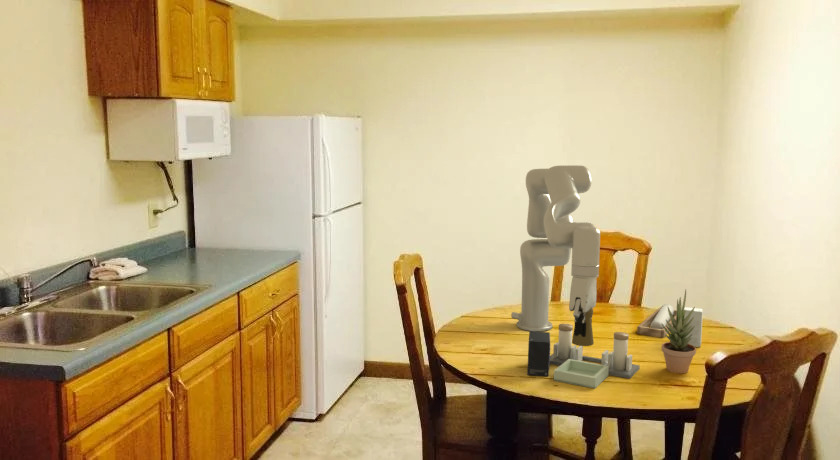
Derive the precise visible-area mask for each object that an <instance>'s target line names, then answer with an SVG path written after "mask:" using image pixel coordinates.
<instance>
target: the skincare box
mask: <svg viewBox="0 0 840 460" xmlns="http://www.w3.org/2000/svg"><path fill="white" fill-rule="evenodd" d="M693 308H694V307H687V306H685V309H684V311H685V310H686V313H685V318H686V317H687V316H688V314H689V313H690V312H691V310H692V309H693ZM703 313H704V309H703V308H696V307H695V308H694V311H693V313H692V314H691V316H690V318H689V320H688V321H687V323H688V322H689V321H690V320H691V319H692V318H693V317H694V318H693V320H692V322H691V324H690V325H689V327H690V326H691V325H692V326H691V328H692V327H693V326H695V327H694V329H693V330H692V331H691V332H690V333H689V334H688V335H687V337H686V338H688V337H689V336H690V335H692V334H693V335H692V336H691V337H690V338H691V340H690V341H689V343H688V344H691V345H693V346H694V347H697V348H700V347H701V346H702V335H703V334H702V333H703V332H702V331H703ZM687 323H686V324H687ZM686 324H685V325H686ZM689 327H688V328H689ZM688 328H687V329H688ZM691 328H690V329H691ZM690 329H689V330H690ZM688 332H689V331H688ZM686 338H685V339H686ZM690 338H689V339H690ZM689 339H688V340H689Z"/></svg>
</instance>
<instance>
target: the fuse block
mask: <svg viewBox="0 0 840 460" xmlns="http://www.w3.org/2000/svg"><path fill="white" fill-rule="evenodd" d="M573 331H574V327H573V324H570V323H559V324H558V342H555V343H554V344H553V350H552V351H553V353H552V354H550V364H549V365H554V366H558V367H559V366H560V365H562V364H563V363H564V362H565V361H567V360H568V359H573V360H578V361H586V362H591V363H597V364H601V365H606V366H609V371H608V376H613V377H619V378H624V379H628V380H629V379H630V380H631V379H632V377H633V376H634V375H635V374H636V373H638V371H639V370H640V367H641V366H640V365H639V364H635V363H634V364H633V354H628V351H629V349H628V348H629V337H630V336H629V333H627V332H625V331H624V332H622V331H618V332H617V331H616V332H614V333H613V351H609V350H607V349H605V350H604V351H603V352H602V353H601V358H599V357H593V356H588V355H583V353H584V350H583V348H584V346H578V347H577V345H575V344H573V343H572V339H573Z"/></svg>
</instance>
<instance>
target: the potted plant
mask: <svg viewBox="0 0 840 460" xmlns="http://www.w3.org/2000/svg"><path fill="white" fill-rule="evenodd" d="M686 299H687V289H684V297H683V302H682V297H681V296H680V297H679V299H678V298H677V300H676V310H677V311H676V320H675V319H674V317H673V315H672V313H671V311H670V309H669V307H668V312H669V316H670V318H671V319H670V321H671V322H672V325H673V326H672V325H671V324H670V323H669V322H670V321H669V322H668V321H667V320H666V322H667V324H668V326H669V327H668V326H667V325H666V327H667V328H668V330H669V331H670V332H669V331H668V330H667V329H666V328H665V327H664V325H663V324H662V326H663V328H664V329H665V331H666V332H667V333H668V334H667V335H666V334H664V335H665V337H666V338H667V339H668V340H669V341H666V342H663V343H662V344H661V351H662V353H663V357H664V362H665V366H666V368H665V369H666V370H667V371H668V372H671V373H675V374H685V373H688V372H689V370H690V366H691V363H692V361H693V357H694V356H695V355H696V353H697V348H696V347H695V346H693V345H691V344H688V343H689V341H690V340H691V338H690V337H691V336H692V335H693V334H692V335H690V336H689V337H688V338H686V337H687V335H688V334H689V333H690V332H691V331H692V330H693V329H694V327H695V326H693V327H692V328H691V326H692V325H691V326H690V327H689V325H690V324H691V322H692V320H693V318H694V317H693V318H692V319H691V320H690V321H689V322H688V323H687V321H688V320H689V318H690V316H691V314H692V313H693V311H694V308H696V307H695V306H694V307H692V308H693V309H692V310H691V312H690V313H689V314H688V316H687V317H686V318H685V313H686V310H685V311H684V309H685V307H686V301H687V300H686ZM686 323H687V324H686ZM685 324H686V325H685ZM688 327H689V328H688ZM687 328H688V329H687ZM690 328H691V329H690ZM689 329H690V330H689ZM688 331H689V332H688ZM685 338H686V339H685ZM689 338H690V339H689ZM688 339H689V340H688Z"/></svg>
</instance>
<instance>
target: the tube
mask: <svg viewBox="0 0 840 460" xmlns="http://www.w3.org/2000/svg"><path fill="white" fill-rule="evenodd" d="M668 307H669V309H670V311H671V313H672V315H674V310H675V308H674V306H672V305H671V304H666V303H664V304H662V305H661V306H660V307H659V308H660V310H659V312H658V313H657V315H656V317H655V318H654V320H653V321H652V323H651V325H650V326H649V328H655V329H663V326H662V324H663V325H664V327H665V326H666V325H667V322H666V320H667V321H668V322H670V321H671V318H670V316H669V312H668Z"/></svg>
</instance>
